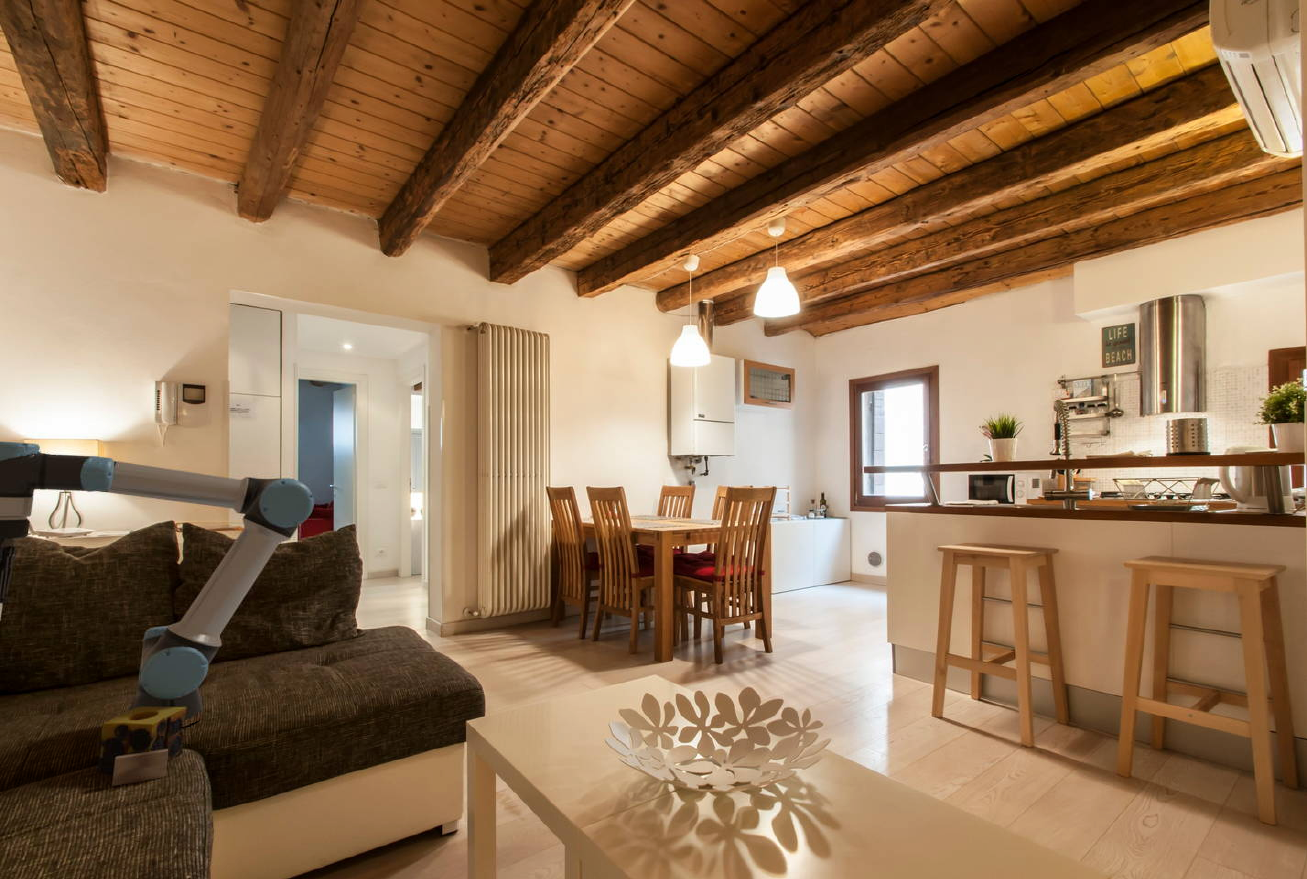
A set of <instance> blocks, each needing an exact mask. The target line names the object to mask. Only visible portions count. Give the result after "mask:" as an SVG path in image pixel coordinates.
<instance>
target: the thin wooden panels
mask: <svg viewBox="0 0 1307 879" xmlns="http://www.w3.org/2000/svg"><path fill="white" fill-rule="evenodd" d="M167 756H168V749H164V750H158V751H151V752H144V753H137V754H131V755H124V756H117V757H116V759H115V766H114V773H112V774H113V775H112V784H111V786H112V787H114V786H118V785H119V786H120V785H126V784H132V783H138V782H143V781H150V780H155V779H161V778H165V776H166V773H167V772H166V770H167V765H168V764H167V763H168V762H167Z"/></svg>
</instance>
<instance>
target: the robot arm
mask: <svg viewBox="0 0 1307 879" xmlns="http://www.w3.org/2000/svg"><path fill="white" fill-rule="evenodd" d="M35 490H44V491H45V490H49V491H51V490H52V491H54V490H55V491H68V492H69V491H74V492H88V493H90V492H100V493H109V494H118V495H126V496H133V497H140V498H149V499H157V500H162V501H163V500H164V501H171V502H172V501H173V502H178V503H179V502H180V503H188V504H195V505H201V506H202V505H203V506H211V507H218V508H225V509H232V510H234V511H235V513H237V514H241V515H243V517H242V523H243V529H242V530H241V532H240V534H239V535H238V537H237V538H236V540H234V542H233V544H232V545H231V547H230V548H229V550H228V551H227V553H226V554H225V555H224V557H223V558H222V560H221V561H220V563H219V565H218V566H217V568H216V569H215V570H214V571H213V573H212V574H211V576H210V577H209V579H208V580H207V581H206V583H205V584H204V586H203V587H202V589H201V591H200V592H199V594H198V595H197V597H196V598H195V599H194V601H193V602H192V603H191V605H190V607H189V608H188V610H187V611H186V612H185V614H184V615H183V617H182V619H181V620H180V621H178V622H176V623H172V624H170V625H165V626H157V627H156V626H154V627H151V628H149V629H147V630H146V631H145V632H144V636H143V639H142V641H141V642H142V653H141V658H140V660H141V661H140V666H139V675H138V684H137V685H138V686H137V692H136V695H135V697H134V700H133V701H132V703H131V705H130V708H129V709H128V711H130V710H132V709H135V708H137V707H186V712H185V717H184V720H183V721H185V720H187V719H190V718H192V717H193V716H195V715H196V714H197V713H200V711H201V710H202V709H203V707H204V705H203V703H202V698H201V693H200V689H199V687H200V685H201V684H202V682H203V681H204V680H205V679H206V676H207V673H208V671H209V664H210V663H211V662H212V660H213V658H214V657H215V656H216V654H217V653H218V651H219V649H220V648H221V646H222V644H223V643H222V641H221V637H220V636H221V633H222V632H223V630H224V629H225V627H226V626H227V625H228V623H229V621H230V619H232V617H233V616H234V614H235V612H236V610H237V609H238V608H239V606H240V605H241V603H242V602H243V600H244V598H245V596H246V595H247V594H248V592H249V591H250V589H251V588H252V586H253V584H254V583H255V582H256V580H257V578H258V577H259V575H260V574H261V572H262V571H263V569H264V567H265V566H266V564H267V563H268V562H269V560H270V559H271V557H272V555H273V554H274V552H276V549H277V548H278V546H279V545H280V544H282V543H284V542H287V541H290V540H291V539H292V537H293V535H294V533H296V531H297V530H298V527H299V526H300V525H302V524H303V523H304V522H305V521H306V520H307V519H308V518H309V517H310V516H311V514H312V512H313V511H314V510H313V509H314V506H315V498H314V495H313V493H312V491H311V490H310V488H309V487H308V486H307V485H306V484H305V483H303V482H302V481H299V480H296V479H294V478H289V477H288V478H287V477H285V478H279V477H278V478H256V477H250V476H245V477H243V478H241V479H238V478H237V479H236V478H230V477H224V476H216V475H210V474H205V473H197V472H190V471H183V470H177V469H171V468H164V467H156V466H151V465H145V464H144V465H143V464H137V463H132V462H131V463H129V462H124V461H119V460H118V461H116V460H114V459H113V458H111V457H107V456H106V457H104V456H99V455H76V454H75V455H74V454H73V455H71V454H51V453H43V452H42V451H41V447H40V445H39V444H37V443H32V442H31V443H30V442H29V443H28V442H27V443H26V442H17V441H16V442H14V441H12V442H11V441H0V620H1V617H2V610H3V604H4V603H8V602H9V601H10V598H7V597H8V594H9V593H8V592H9V588H10V582H11V578H12V573H13V568H14V565H15V564H14V563H15V560H16V556H17V554H18V549H17V547H16V546H14V544H15V543H14V542H15V541H14V539H24V538H26V537H28V535H29V531H30V530H29V529H30V524H31V523H30V522H31V521H30V519H28V517H29V518H30V517H31V516H32V512H33V504H34V492H35Z"/></svg>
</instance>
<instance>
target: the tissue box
mask: <svg viewBox="0 0 1307 879" xmlns="http://www.w3.org/2000/svg"><path fill="white" fill-rule="evenodd" d="M185 712H186V707H137V708H135V709H132V710H130V711H129V710H128V711H126V712H124V713H122V714H120V715H117V716H116V717H113V718H112V719H108V720H106V721H104V722H103V724H102V727H101V728H102V729H101V737H100V739H101V741H100V742H101V747H100V756H99V758H98V768H97V773H98V774H99V773H101V774H114V766H115V759H116V757H117V756H124V755H131V754H137V753H144V752H151V751H158V750H164V749H168V756H167V763H168V762H170V761H172V759H174V758H176V757H179V756H180V755H181V754H183V751H184V749H183V748H184V746H183V745H184V743H183V742H184V738H185V735H184V730H183V729H184V728H182V726H183V720H184V717H185Z"/></svg>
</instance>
